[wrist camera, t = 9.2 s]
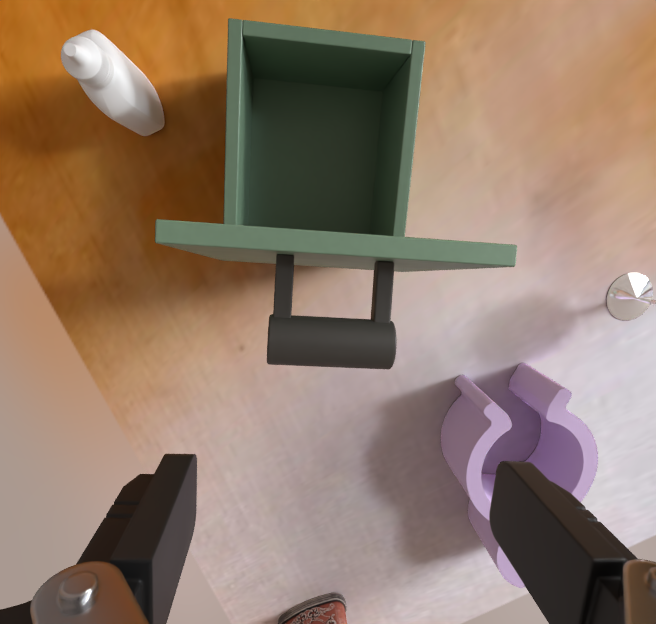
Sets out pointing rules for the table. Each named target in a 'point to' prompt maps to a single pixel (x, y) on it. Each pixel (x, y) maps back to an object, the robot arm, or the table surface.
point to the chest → (319, 128)
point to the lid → (338, 252)
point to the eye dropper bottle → (113, 82)
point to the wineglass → (630, 296)
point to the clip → (549, 457)
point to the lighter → (318, 611)
